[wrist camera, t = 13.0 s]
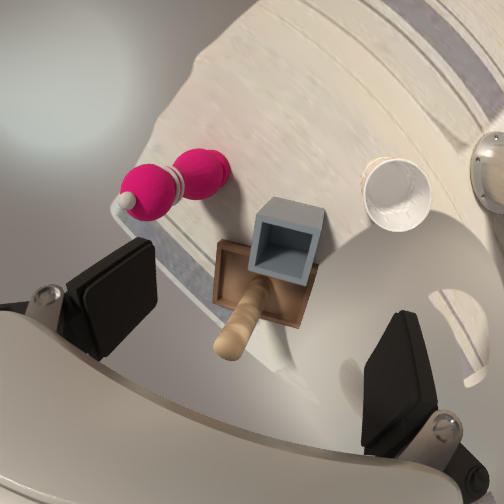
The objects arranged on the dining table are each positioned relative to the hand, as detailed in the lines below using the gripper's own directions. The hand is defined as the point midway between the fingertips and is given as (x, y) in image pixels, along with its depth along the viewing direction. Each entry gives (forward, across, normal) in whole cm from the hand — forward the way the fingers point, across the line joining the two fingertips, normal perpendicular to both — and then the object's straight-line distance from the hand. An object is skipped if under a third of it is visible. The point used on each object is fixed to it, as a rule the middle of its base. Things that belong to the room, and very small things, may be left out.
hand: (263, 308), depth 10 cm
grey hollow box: (+30, +2, +8) cm, 31 cm away
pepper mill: (+31, +16, +2) cm, 34 cm away
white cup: (+31, -9, -2) cm, 32 cm away
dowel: (+30, +5, +19) cm, 36 cm away
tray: (+30, +5, +19) cm, 36 cm away
